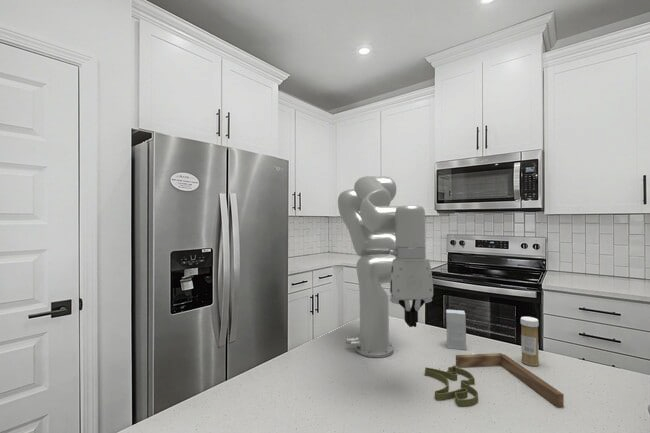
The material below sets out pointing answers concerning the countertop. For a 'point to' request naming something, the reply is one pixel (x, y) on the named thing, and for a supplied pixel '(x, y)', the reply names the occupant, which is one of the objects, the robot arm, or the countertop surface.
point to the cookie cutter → (456, 394)
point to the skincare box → (456, 329)
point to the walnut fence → (516, 370)
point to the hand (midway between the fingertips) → (411, 325)
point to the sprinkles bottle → (529, 341)
